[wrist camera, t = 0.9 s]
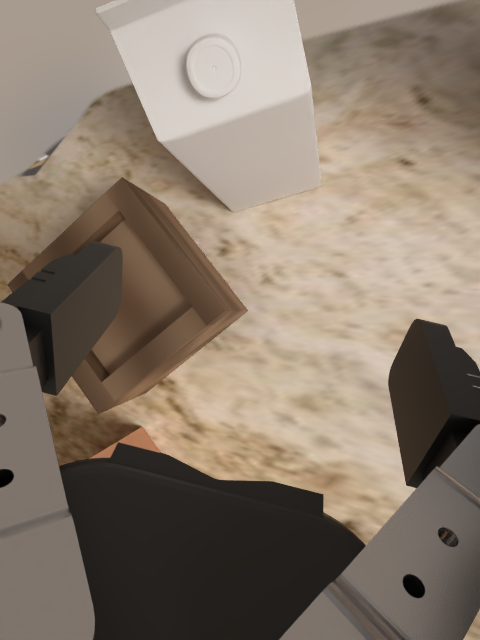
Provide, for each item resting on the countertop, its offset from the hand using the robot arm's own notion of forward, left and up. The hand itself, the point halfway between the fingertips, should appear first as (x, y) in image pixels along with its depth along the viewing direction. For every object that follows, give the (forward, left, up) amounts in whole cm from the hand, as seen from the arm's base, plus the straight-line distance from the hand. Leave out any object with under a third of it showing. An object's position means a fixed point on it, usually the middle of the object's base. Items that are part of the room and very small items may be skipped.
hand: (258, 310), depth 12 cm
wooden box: (+9, -8, -22) cm, 25 cm away
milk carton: (-5, -11, -22) cm, 26 cm away
